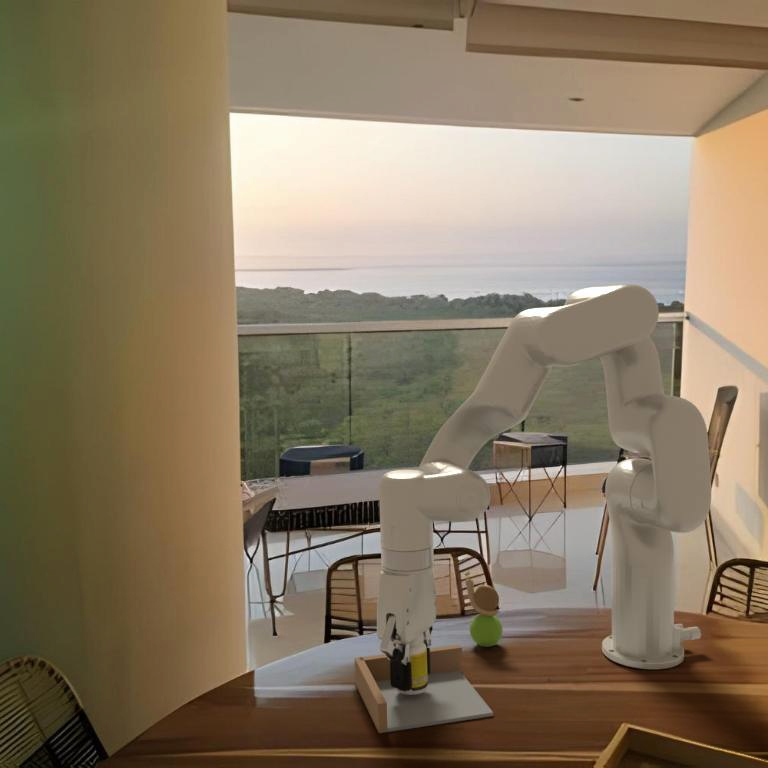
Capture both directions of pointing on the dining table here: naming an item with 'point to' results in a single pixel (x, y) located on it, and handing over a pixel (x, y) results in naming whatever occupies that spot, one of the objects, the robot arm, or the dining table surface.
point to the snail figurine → (484, 614)
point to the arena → (434, 706)
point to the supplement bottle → (416, 665)
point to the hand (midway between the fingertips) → (410, 678)
